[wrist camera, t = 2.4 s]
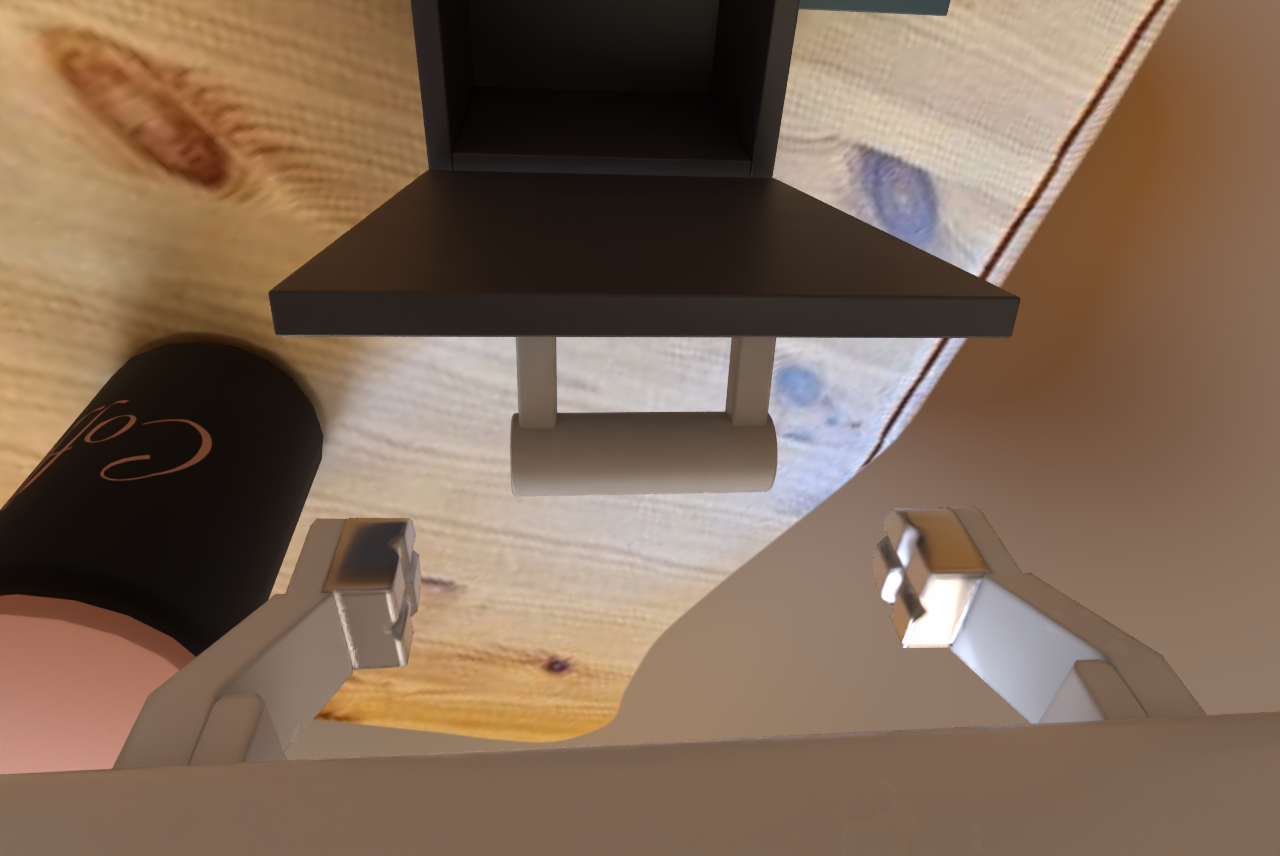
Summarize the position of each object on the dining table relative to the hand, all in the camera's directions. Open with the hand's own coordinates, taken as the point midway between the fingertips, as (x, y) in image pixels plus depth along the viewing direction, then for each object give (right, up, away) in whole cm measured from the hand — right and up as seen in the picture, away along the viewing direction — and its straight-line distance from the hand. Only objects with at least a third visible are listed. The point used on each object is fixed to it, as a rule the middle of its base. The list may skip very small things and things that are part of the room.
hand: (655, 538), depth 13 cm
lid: (-1, +7, +5) cm, 9 cm away
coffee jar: (-23, +3, +29) cm, 37 cm away
